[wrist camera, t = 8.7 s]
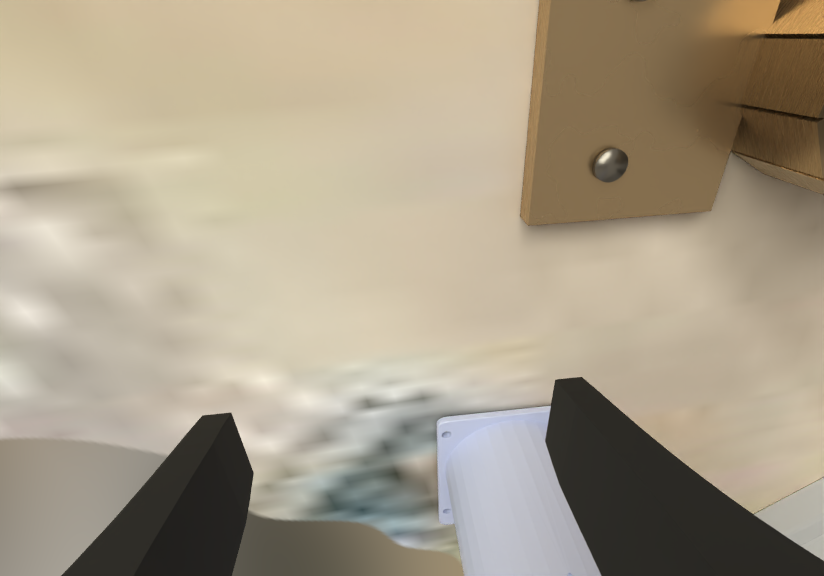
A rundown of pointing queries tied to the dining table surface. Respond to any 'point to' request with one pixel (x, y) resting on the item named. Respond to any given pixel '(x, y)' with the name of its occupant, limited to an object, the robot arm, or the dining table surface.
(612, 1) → the hinge leaves
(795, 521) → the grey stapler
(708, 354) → the dining table surface
